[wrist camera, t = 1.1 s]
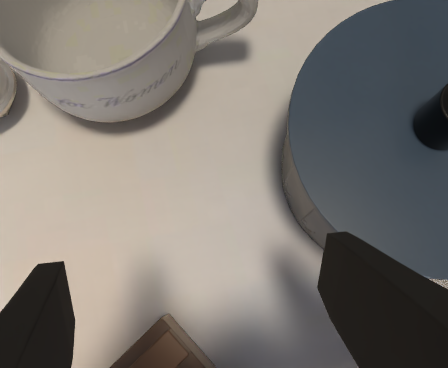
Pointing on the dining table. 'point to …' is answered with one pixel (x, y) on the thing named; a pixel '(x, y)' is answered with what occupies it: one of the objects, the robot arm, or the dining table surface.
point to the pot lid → (379, 131)
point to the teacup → (110, 50)
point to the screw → (6, 88)
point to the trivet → (164, 349)
